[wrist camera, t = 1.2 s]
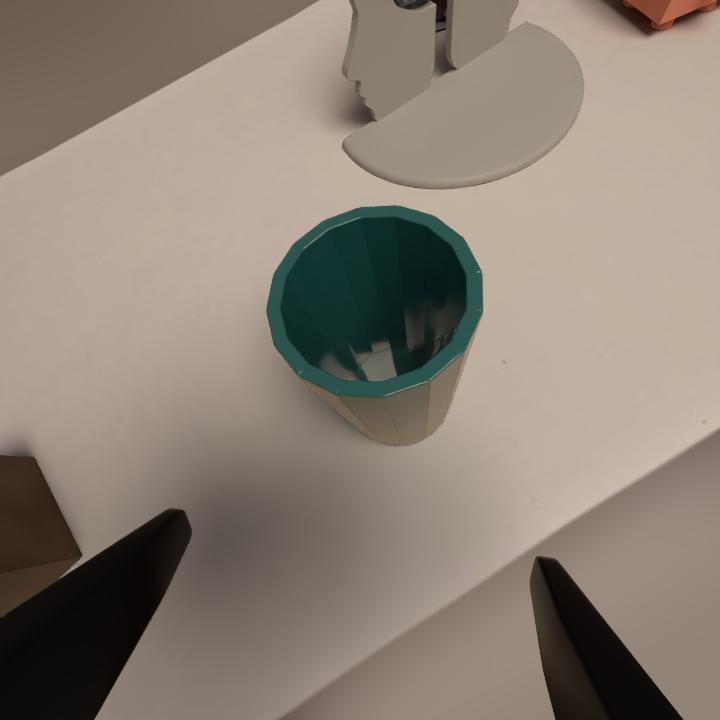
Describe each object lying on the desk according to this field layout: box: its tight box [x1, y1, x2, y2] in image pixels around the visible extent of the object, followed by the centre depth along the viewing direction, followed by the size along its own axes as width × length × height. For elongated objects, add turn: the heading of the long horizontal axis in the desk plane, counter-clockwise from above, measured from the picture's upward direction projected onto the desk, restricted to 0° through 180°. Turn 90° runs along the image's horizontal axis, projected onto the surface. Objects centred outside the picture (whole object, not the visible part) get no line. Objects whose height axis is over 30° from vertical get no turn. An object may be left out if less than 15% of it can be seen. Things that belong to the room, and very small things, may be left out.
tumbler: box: [266, 205, 483, 446], centre depth 17 cm, size 7×7×13 cm
